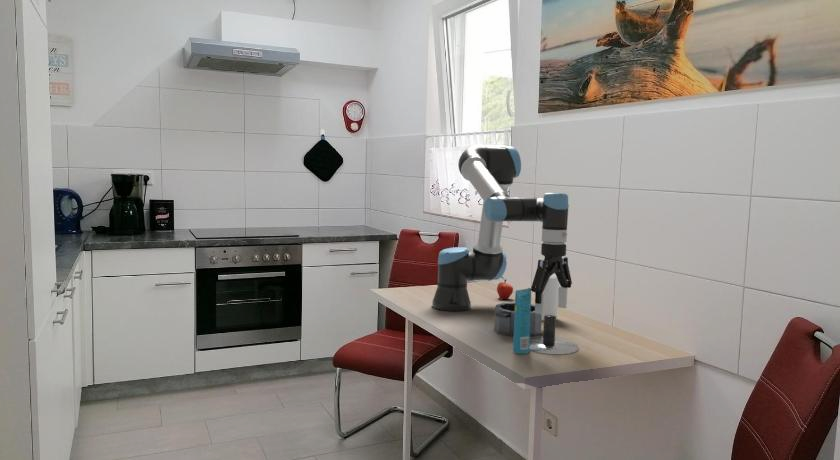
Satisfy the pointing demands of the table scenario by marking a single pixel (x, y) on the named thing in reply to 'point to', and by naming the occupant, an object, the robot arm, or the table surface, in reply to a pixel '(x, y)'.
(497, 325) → the pot
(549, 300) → the cup
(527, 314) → the tube
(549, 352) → the lid
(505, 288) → the apple
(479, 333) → the table surface
